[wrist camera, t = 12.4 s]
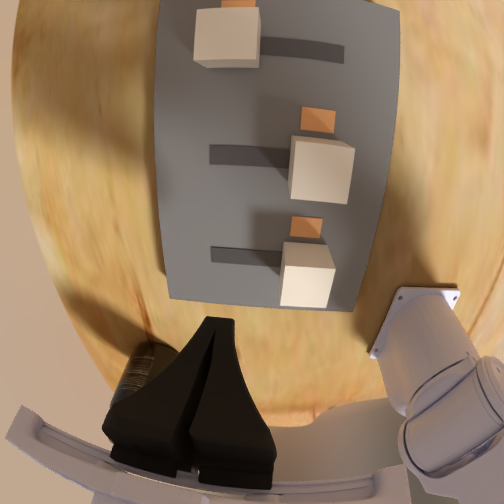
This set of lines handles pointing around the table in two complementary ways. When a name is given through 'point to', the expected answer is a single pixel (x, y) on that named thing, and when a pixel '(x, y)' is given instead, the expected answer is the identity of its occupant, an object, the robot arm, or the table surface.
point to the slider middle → (320, 169)
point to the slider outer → (227, 37)
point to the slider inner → (306, 275)
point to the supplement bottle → (142, 368)
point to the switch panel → (271, 146)
